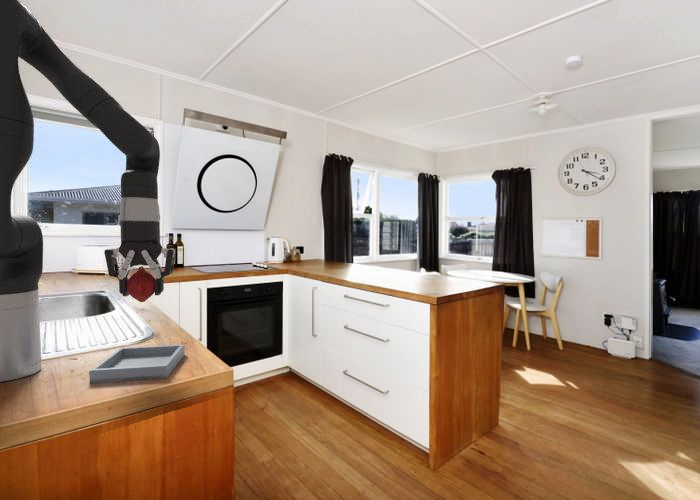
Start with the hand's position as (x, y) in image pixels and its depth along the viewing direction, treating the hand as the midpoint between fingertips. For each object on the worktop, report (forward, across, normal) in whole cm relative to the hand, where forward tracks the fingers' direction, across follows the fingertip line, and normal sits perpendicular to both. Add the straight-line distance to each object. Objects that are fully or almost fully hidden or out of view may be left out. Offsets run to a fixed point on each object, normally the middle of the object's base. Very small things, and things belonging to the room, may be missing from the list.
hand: (142, 295), depth 80 cm
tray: (+16, 0, -3) cm, 16 cm away
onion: (+2, 0, 0) cm, 2 cm away
